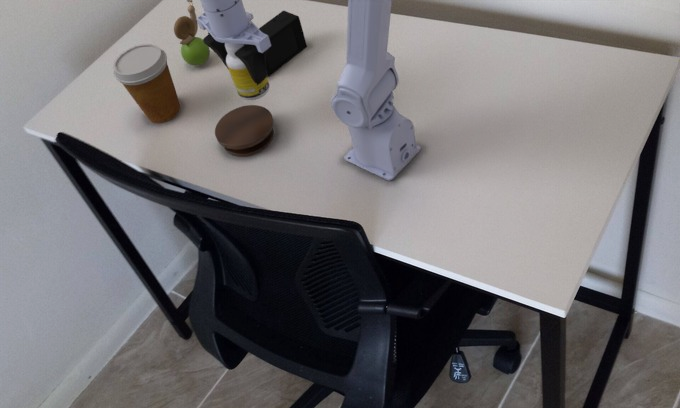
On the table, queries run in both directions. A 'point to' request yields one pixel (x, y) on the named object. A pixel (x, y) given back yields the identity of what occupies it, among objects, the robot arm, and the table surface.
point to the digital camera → (283, 40)
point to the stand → (245, 130)
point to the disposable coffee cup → (148, 81)
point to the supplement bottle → (243, 76)
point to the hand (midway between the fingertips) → (248, 74)
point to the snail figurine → (191, 39)
